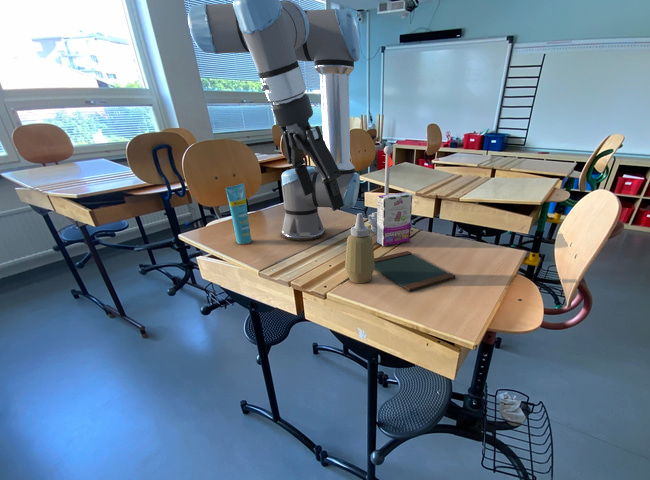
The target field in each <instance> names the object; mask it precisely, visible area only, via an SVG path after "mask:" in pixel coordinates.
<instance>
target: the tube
mask: <svg viewBox="0 0 650 480" xmlns="http://www.w3.org/2000/svg"><path fill="white" fill-rule="evenodd" d="M225 193H226V196H227V201H228V205H229V209H230V214H231V219H232V224H233V230H234V235H235V240H236V243H237V244H238V245H247V244H250V243H252V235H251V229H250V221H249V213H248V205H247V198H246V197H247V196H246V188H245V183H244V182H243V183H240V184H236V185H232V186H231V185H230V186H226V187H225Z"/></svg>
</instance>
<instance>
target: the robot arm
mask: <svg viewBox="0 0 650 480" xmlns="http://www.w3.org/2000/svg"><path fill="white" fill-rule="evenodd" d="M187 23H188V28H189V31H190V35H191V38H192V40H193V42H194V43H195V45H196V46H197V48H198V49H200V51H202V52H204V53H207V54H240V53H242V54H250V56H251V58H252V61H253V63H254V66H255V69H256V72H257V74H258V77H259V79H260V82H261V84H262V85H260V89H261V90H262V92H264V93H265V95H266V98H267V101H268V102H269V103H272V104H271V105H270V109H271V112H272V115H273V117H274V120H275V123H276V125H277V126H278V127H279V129H280V133H281V135H282V140H283V146H284V150H285V151H284V152H285V155H286V161H287V164H289V165H291V167H292V168H291V169H286V170H285V171H283V172H282V173H281V188H282V189H281V190H282V198H283V205H284V219H283V223H282V228H281V229H282V230H281V233H282V237H283V238H284V239H287V240H290V241H300V242H302V241H312V240H316V239H320V238H321V237H323V236H324V235H325V229H324V226H323V223H322V220H321V217H320V215H319V210H318V208H329V209H331V210H332V211H333V212H335V211H338V210H339V209H341V210H342V209H352V208H353V207H355V205H356V203H357V200H358V198H359V197H358V196H359V192H360V191H359V190H360V184H361V183H360V182H361V177H360V174H359V172H356V167H355V165H354V164H353V163H352V162H351V132H350V131H351V128H350V127H351V126H350V125H351V124H350V123H351V122H350V120H351V119H350V75H351V74H352V72H353V71H354V70H355V63H357V62H359V60H360V57H361V55H360V52H361V51H360V49H361V48H360V39H359V32H358V31H359V30H358V27H357V22H356V18H355V15H354V14H353V12H352V11H350V10H349V9H342V8H340V9H339V8H329V9H326V8H325V9H307V10H306V9H303V7H302V6H300V5H299V4H298V3H297V2H295V1H292V0H233V2H232V3H207V2H206V3H203V4H194V5H192V6H191V7H190V8H189V10H188V12H187ZM298 61H301V62H314V63H313V64H314V70H315V71H316V72H317V73H318V75H319V80H320V100H321V121H322V123H321V124H322V132H321V129H320V126H319V125H316V126H314V127H312V126H311V124H310V122H309V120H310V118H312V117H313V115H314V110H313V107H312V103H311V100H310V97H309V95H308V94H307V93H305V92H307V85H306V83H305V79H304V76H303V74H302V73H303V72H302V71H301V66H300V65H299V62H298ZM304 155H307V156H309V158H310V159H311V162H312V163H313V164H314V166H307V165H306V163H307V162H306V160H305V159H304ZM317 170H318V171H317Z"/></svg>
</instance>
